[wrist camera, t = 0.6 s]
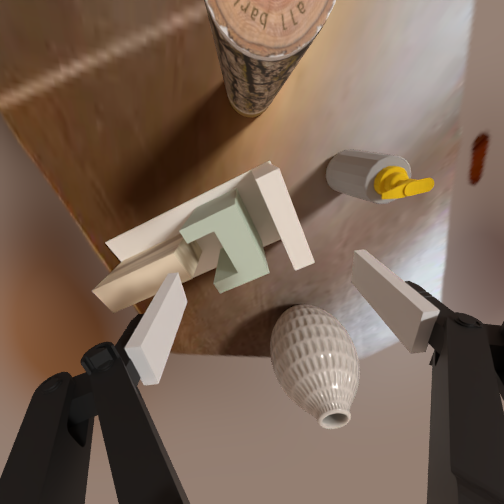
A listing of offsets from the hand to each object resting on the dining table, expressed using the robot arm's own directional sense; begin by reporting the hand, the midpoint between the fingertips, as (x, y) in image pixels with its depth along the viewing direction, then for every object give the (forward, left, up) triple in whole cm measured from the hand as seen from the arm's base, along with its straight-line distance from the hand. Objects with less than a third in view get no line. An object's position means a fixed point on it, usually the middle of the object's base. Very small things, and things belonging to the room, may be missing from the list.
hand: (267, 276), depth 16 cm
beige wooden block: (+2, -20, -25) cm, 32 cm away
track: (+2, -11, -26) cm, 28 cm away
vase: (+30, -1, -26) cm, 40 cm away
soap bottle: (+2, +17, -26) cm, 31 cm away
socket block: (+2, -5, -25) cm, 25 cm away
